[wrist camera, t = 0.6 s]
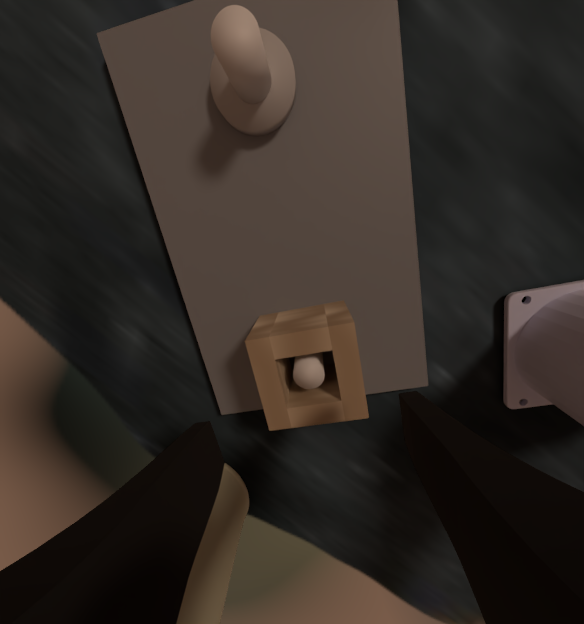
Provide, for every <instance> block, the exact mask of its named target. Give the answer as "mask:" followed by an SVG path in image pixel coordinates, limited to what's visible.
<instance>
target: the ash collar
mask: <svg viewBox="0 0 584 624" xmlns="http://www.w3.org/2000/svg"><path fill="white" fill-rule="evenodd" d="M245 344H246V347H247V351H248V355H249V358H250V362H251V366H252V369H253V373H254V376H255V380H256V384H257V387H258V391H259V395H260V398H261V402H262V405H263V409H264V413H265V416H266V420H267V424H268V427H269V431H273V430H280V429H288V428H296V427H303V426H311V425H318V424H326V423H334V422H341V421H349V420H357V419H364V418H369V415H368V408H367V402H366V395H365V389H364V382H363V375H362V369H361V362H360V356H359V349H358V343H357V336H356V330H355V323H354V320H353V318H352V316H351V314H350V312H349V310H348V308H347V306H346V304H345V302H344V300H343V301H338V302H332V303H327V304H321V305H316V306H310V307H305V308H300V309H294V310H289V311H283V312H278V313H272V314H267V315H261V316H259V318H258V319H257V321H256V323H255V325H254V326H253V328H252V330H251V331H250V333H249V335H248V336H247V338H246V340H245ZM331 350H332V351H333V357H334V362H335V363H334V364H327V365H324V374H325V377H324V381H323V382H322V384H321V385H320V386H318V387H317V388H314V389H304V388H302V387H300V386H298V385H297V384H296V382H295V381H294V378H293V371H294V370H292V368H291V364H290V360H289V357H294V356H300V355H307V354H313V353H319V352H325V351H331Z"/></svg>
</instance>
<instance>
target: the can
mask: <svg viewBox="0 0 584 624" xmlns="http://www.w3.org/2000/svg"><path fill="white" fill-rule="evenodd" d="M248 508H249V495H248V491H247V488H246V485H245V483H244V481H243V480H242V479H241V477H240V476H239V475H238V473H237V472H236V471H235V470H234V469H233V468H231V467H230V466H229V465H227V464H226V463H225V464H224V469H223V474H222V479H221V483H220V487H219V491H218V494H217V497H216V500H215V503H214V506H213V509H212V512H211V515H210V517H209V520H208V523H207V526H206V529H205V532H204V534H203V537H202V540H201V543H200V546H199V548H198V551H197V554H196V557H195V560H194V563H193V566H192V569H191V572H190V575H189V578H188V582H187V586H186V589H185V593H184V597H183V601H182V604H181V608H180V612H179V616H178V619H177V623H176V624H220V621H221V616H222V612H223V608H224V603H225V599H226V594H227V590H228V585H229V580H230V577H231V572H232V568H233V564H234V559H235V555H236V551H237V546H238V542H239V538H240V534H241V530H242V526H243V522H244V519H245V517H246V515H247V512H248Z"/></svg>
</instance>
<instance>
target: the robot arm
mask: <svg viewBox="0 0 584 624" xmlns="http://www.w3.org/2000/svg"><path fill="white" fill-rule="evenodd" d="M525 296H526V300H525V301H524V302H522V299H523V297H525ZM399 399H400V407H401V415H402V423H403V431H404V439H405V442H406V445H407V448H408V451H409V453H410V456H411V459H412V461H413V464H414V467H415V469H416V471H417V473H418V475H419V477H420V479H421V482H422V484H423V486H424V488H425V490H426V492H427V494H428V496H429V498H430V500H431V502H432V504H433V506H434V508H435V510H436V512H437V514H438V516H439V518H440V520H441V522H442V524H443V526H444V528H445V530H446V532H447V534H448V536H449V538H450V540H451V542H452V544H453V546H454V548H455V550H456V552H457V555H458V557H459V559H460V561H461V564H462V566H463V569H464V571H465V573H466V576H467V578H468V581H469V583H470V586H471V588H472V591H473V593H474V595H475V598H476V600H477V603H478V605H479V608H480V610H481V613H482V615H483V618H484V620H485V623H486V624H584V492H582V491H580V490H578V489H576V488H574V487H572V486H570V485H568V484H565V483H563V482H561V481H559V480H557V479H555V478H553V477H551V476H549V475H547V474H545V473H543V472H541V471H540V470H538V469H536V468H534V467H532V466H530V465H528V464H527V463H525V462H523V461H521V460H519V459H517V458H516V457H514V456H512V455H510V454H508V453H507V452H505V451H503V450H502V449H500V448H498V447H497V446H495V445H493V444H492V443H490V442H489V441H487V440H485V439H484V438H482V437H480V436H479V435H477V434H476V433H474V432H473V431H471V430H470V429H468V428H467V427H465V426H464V425H462V424H461V423H460V422H458V421H457V420H455V419H454V418H452V417H451V416H450V415H448V414H447V413H445V412H444V411H443V410H441V409H440V408H439V407H437V406H436V405H435V404H433V403H432V402H431V401H429V400H428V399H427V398H425V397H424V396H423V395H421V394H420V393H419V392H417V391H413V392H406V393H399ZM521 399H523V400H522V401H520V400H521ZM503 401H504V404H505V405H506V406H507V407H508V408H510V409H520V408H528V407H536V406H544V405H552V404H554V405H555V406H556V407H558V408H559V409H561V410H562V411H563V412H565V413H566V414H568V415H569V416H570V417H572V418H573V419H575V420H576V421H577V422H579V423H580V424H582V425H583V426H584V280H581V281H575V282H569V283H564V284H558V285H552V286H546V287H541V288H535V289H529V290H523V291H518V292H513V293H510V294H508V295H507V296H506V298H505V300H504V394H503ZM519 401H520V402H519ZM224 464H225V462H224V459H223V457H222V454H221V451H220V448H219V445H218V442H217V440H216V437H215V434H214V431H213V428H212V426H211V423H210V421H208V422H201V423H195V424H194V425H193V426H191V427H190V428H189V429H188V430H186V431H185V432H184V433H183V434H182V435H181V436H180V437H178V438H177V439H176V440H175V441H174V442H173V443H172V444H171V445H170V446H168V447H167V448H166V449H165V450H164V451H163V452H162V453H161V454H159V455H158V456H157V457H156V458H155V459H154V460H153V461H152V462H151V463H150V464H148V465H147V466H146V467H145V468H144V469H143V470H141V471H140V472H139V473H138V474H137V475H135V476H134V477H133V478H132V479H131V480H129V481H128V482H127V483H126V484H125V485H124V486H122V487H121V488H120V489H119V490H118V491H116V492H115V493H114V494H113V495H111V496H110V497H109V498H108V499H106V500H105V501H104V502H102V503H101V504H100V505H98V506H97V507H96V508H94V509H93V510H92V511H90V512H89V513H88V514H86V515H85V516H84V517H82V518H81V519H79V520H78V521H77V522H75V523H74V524H72V525H71V526H69V527H68V528H66V529H65V530H63V531H62V532H60V533H59V534H57V535H56V536H54V537H53V538H51V539H50V540H48V541H47V542H46V543H44V544H43V545H41V546H40V547H38V548H37V549H35V550H34V551H32V552H30V553H29V554H27V555H26V556H24V557H22V558H21V559H19V560H18V561H16V562H14V563H13V564H11V565H10V566H8V567H6V568H5V569H3V570H1V571H0V624H176V623H177V619H178V616H179V612H180V608H181V604H182V601H183V597H184V593H185V589H186V586H187V582H188V578H189V575H190V572H191V569H192V566H193V563H194V560H195V557H196V554H197V551H198V548H199V546H200V543H201V540H202V537H203V534H204V532H205V529H206V526H207V523H208V520H209V517H210V515H211V512H212V509H213V506H214V503H215V500H216V497H217V494H218V491H219V487H220V483H221V479H222V474H223V469H224Z"/></svg>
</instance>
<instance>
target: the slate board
mask: <svg viewBox="0 0 584 624" xmlns="http://www.w3.org/2000/svg"><path fill="white" fill-rule="evenodd" d="M97 36H98V39H99V42H100V46H101V49H102V52H103V55H104V58H105V61H106V64H107V67H108V70H109V73H110V76H111V79H112V82H113V85H114V88H115V91H116V94H117V97H118V100H119V103H120V107H121V110H122V113H123V116H124V119H125V122H126V125H127V128H128V131H129V134H130V137H131V140H132V143H133V146H134V149H135V152H136V155H137V158H138V161H139V164H140V168H141V171H142V174H143V177H144V180H145V183H146V186H147V189H148V192H149V195H150V198H151V201H152V204H153V207H154V210H155V213H156V216H157V219H158V222H159V225H160V229H161V232H162V235H163V238H164V241H165V244H166V247H167V250H168V253H169V256H170V259H171V262H172V265H173V268H174V271H175V274H176V277H177V280H178V283H179V286H180V290H181V293H182V296H183V299H184V302H185V305H186V308H187V311H188V314H189V317H190V320H191V323H192V326H193V329H194V332H195V335H196V338H197V341H198V344H199V347H200V351H201V354H202V357H203V360H204V363H205V366H206V369H207V372H208V375H209V378H210V381H211V384H212V387H213V390H214V393H215V396H216V399H217V402H218V405H219V408H220V412H221V415H225V414H232V413H239V412H246V411H253V410H260V409H263V405H262V402H261V398H260V395H259V391H258V387H257V384H256V380H255V376H254V373H253V369H252V366H251V362H250V358H249V355H248V351H247V347H246V344H245V340H246V338H247V336H248V335H249V333H250V331H251V330H252V328H253V326H254V325H255V323H256V321H257V319H258V318H259V316H261V315H267V314H272V313H278V312H283V311H289V310H294V309H300V308H305V307H310V306H316V305H321V304H327V303H332V302H338V301H343V300H344V302H345V304H346V306H347V308H348V310H349V312H350V314H351V316H352V318H353V320H354V323H355V330H356V336H357V343H358V349H359V356H360V362H361V369H362V375H363V382H364V389H365V395H367V394H374V393H381V392H388V391H395V390H402V389H409V388H416V387H423V386H428V377H427V364H426V352H425V339H424V327H423V314H422V302H421V289H420V277H419V264H418V252H417V239H416V227H415V214H414V202H413V189H412V176H411V164H410V151H409V139H408V126H407V114H406V101H405V89H404V76H403V64H402V51H401V39H400V26H399V14H398V1H397V0H194V1H191V2H188V3H185V4H182V5H179V6H176V7H173V8H170V9H167V10H164V11H162V12H159V13H156V14H153V15H150V16H147V17H144V18H141V19H138V20H135V21H132V22H129V23H126V24H123V25H120V26H117V27H114V28H111V29H108V30H105V31H102V32H99V33H97ZM289 360H290V364H291V368H292V370H294V371H293V378H294V381H295V382H296V384H297V385H298V386H300V387H302V388H304V389H314V388H317V387H318V386H320V385H321V384H322V382H323V381H324V377H325V374H324V365H327V364H334V363H335V362H334V357H333V351H332V350H331V351H325V352H319V353H313V354H307V355H300V356H294V357H289Z"/></svg>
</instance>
